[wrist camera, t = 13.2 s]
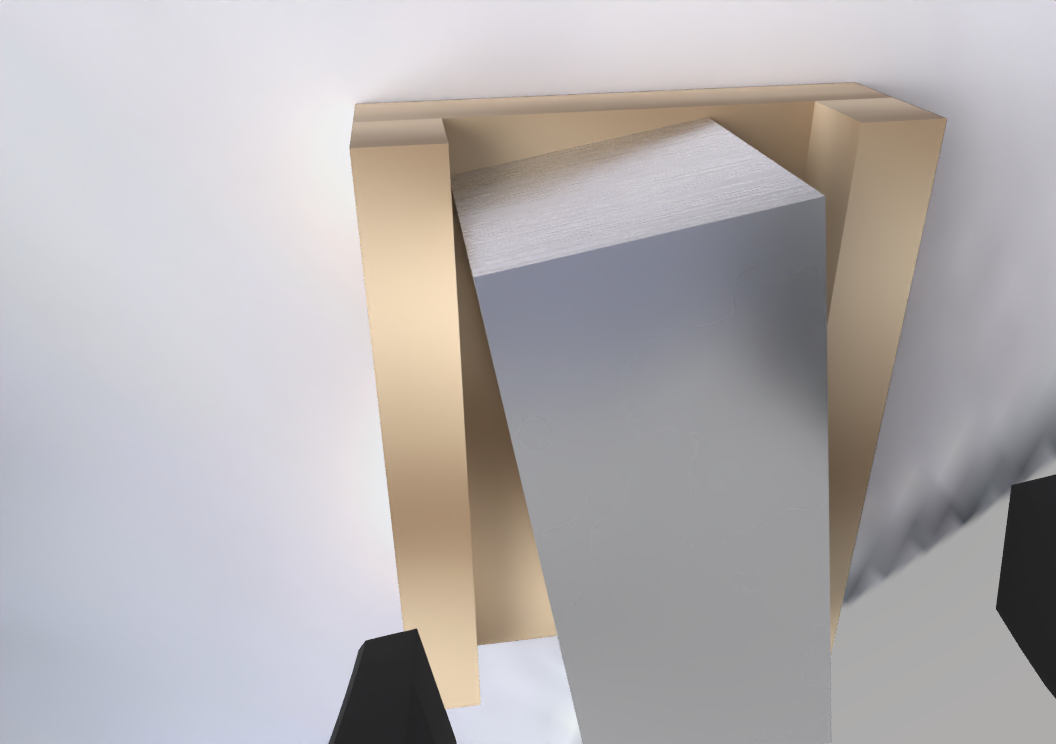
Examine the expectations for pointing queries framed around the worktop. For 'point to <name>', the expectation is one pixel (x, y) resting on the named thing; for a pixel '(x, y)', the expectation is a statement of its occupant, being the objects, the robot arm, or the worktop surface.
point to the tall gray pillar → (668, 425)
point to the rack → (464, 355)
